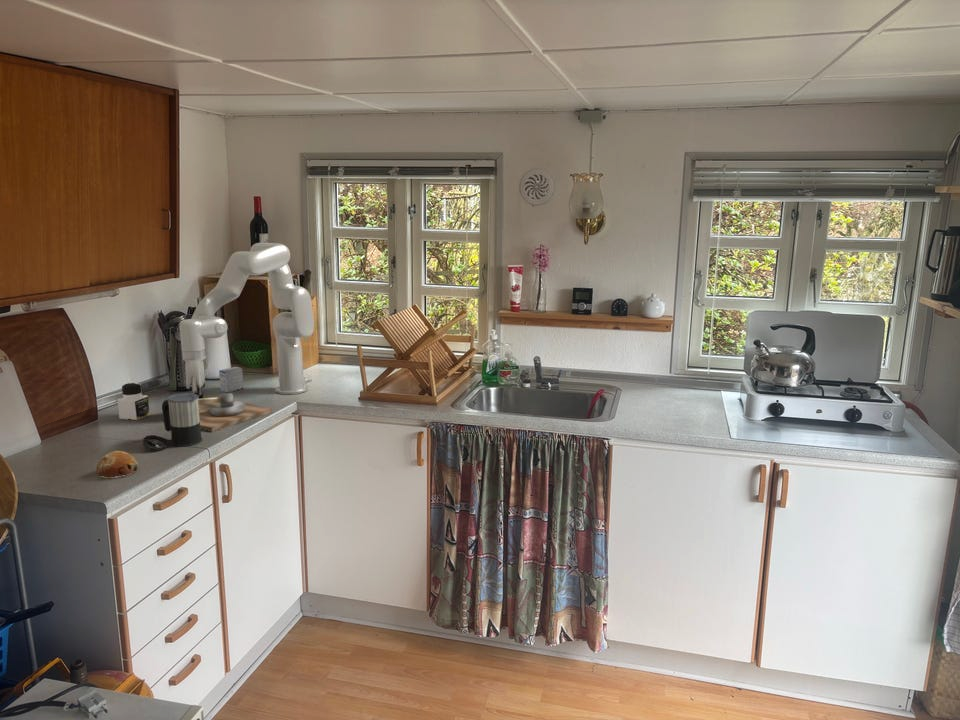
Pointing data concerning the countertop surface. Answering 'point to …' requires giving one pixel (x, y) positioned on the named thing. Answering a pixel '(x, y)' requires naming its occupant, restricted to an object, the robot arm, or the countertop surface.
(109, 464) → the bread roll
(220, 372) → the medicine box
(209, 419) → the board
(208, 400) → the grey disc with handle
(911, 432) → the countertop surface
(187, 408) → the milk frother
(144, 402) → the medicine bottle
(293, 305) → the robot arm
